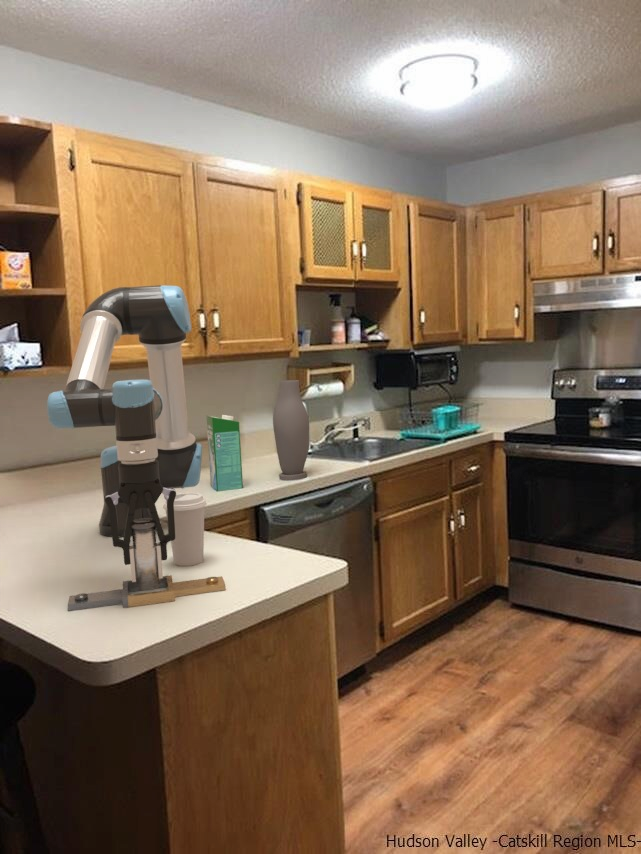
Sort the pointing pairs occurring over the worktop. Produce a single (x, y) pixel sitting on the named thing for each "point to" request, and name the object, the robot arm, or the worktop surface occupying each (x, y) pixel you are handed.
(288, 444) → the vase
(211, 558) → the worktop surface
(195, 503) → the coffee cup
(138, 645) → the worktop surface
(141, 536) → the pin
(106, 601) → the link plate steel
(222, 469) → the milk carton
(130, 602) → the link plate bronze
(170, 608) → the worktop surface
